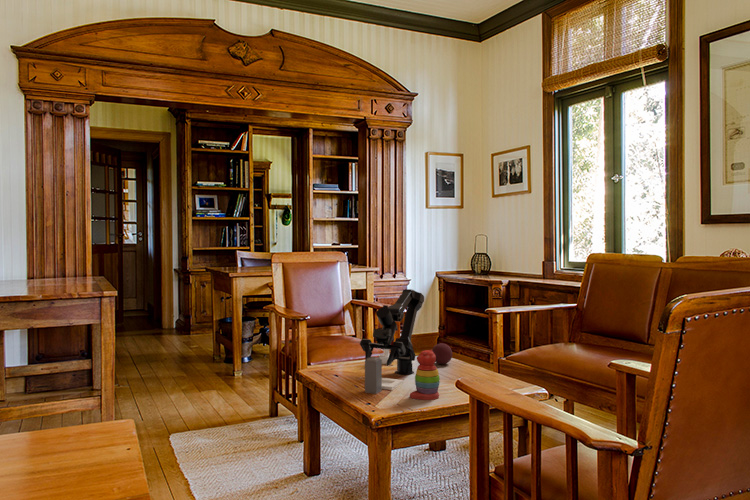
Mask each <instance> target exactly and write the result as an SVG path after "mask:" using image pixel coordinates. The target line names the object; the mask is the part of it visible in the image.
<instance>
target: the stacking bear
mask: <svg viewBox="0 0 750 500" xmlns="http://www.w3.org/2000/svg"><path fill="white" fill-rule="evenodd" d="M416 361H417V363H418V364H419V365H418V366H417V368H416V370H415V371H416V372H415V376H414V384H415V390H413V391H411V392H410V393H409V398H410V399H415V400H423V401H430V400H437V399H438V398H439V397H440V394H439V387H440V382H441V381H440V375H439V369H438V368H437V366H436V365H435V363H436V362H435V361H436V356H435V354H434V353H433V351H432V349H428V350H422V351H420V353H419V354H418V355H417V357H416Z"/></svg>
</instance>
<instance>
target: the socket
mask: <svg viewBox="0 0 750 500" xmlns="http://www.w3.org/2000/svg"><path fill="white" fill-rule="evenodd" d="M403 384H404V379H396V378H389V377H382V390H389V391H393V390H394V389H397V387H400V386H401V385H403Z"/></svg>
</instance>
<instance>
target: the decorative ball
mask: <svg viewBox="0 0 750 500" xmlns="http://www.w3.org/2000/svg"><path fill="white" fill-rule="evenodd" d="M431 350H432V351H433V353H434V354H435V356H436V361H435V363H436V364H439V365H445V364H448V363H450V361H451V359H452V358H453V351H452V348H451V347H450V346H449V345H448V344H446V343H443V342H442V343H440V342H439V343H436V344H435V345H434V346H433V347H432V349H431Z"/></svg>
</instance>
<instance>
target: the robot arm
mask: <svg viewBox="0 0 750 500" xmlns="http://www.w3.org/2000/svg"><path fill="white" fill-rule="evenodd" d="M424 303H425V296H424V294H423V293H422V292H418V291H415V290H414V289H411V288H410V289H407V288H405V289H402V292H401V294H400V296H399V297H398V298H397V299H396V301H395V302H394V304H391V305H387V304H384V305H383V306H381V307H379V308H378V309H377V310H376V312H375V316H376V318H377V319H378V321H379V324H380V325H381V326H382V328H373V333H372V337H373V338H374V341H375V342H373V341H372V340H371V339H370V338H362V339H361V340H360V341H359V345H360V347H361V349H362V351H364V353H365V358H364V362H365V361H366V360H367V358H369V357H372V354H373V351H374V349H379V350H381V349H382V350H384V349H386V350H389V354H390V355H389V358H388V360H387V364H385V365H386V366H387V367H389V366H390V365H392V364H393V362H394V361H397V362H396V363H397V364H396V371H394V373H395V374H398V375H403V376H407V375H410V374H411V375H412V374H414V373H415V371H413V361H416V353H415V350H414V349H413V348H414V345H413V343H412V341H411V340H412V335H413V332H414V327H415V323H416V318H417V314H418V311H420V310H421V309H422V307H423V304H424ZM405 310H406V312H404V311H405ZM403 319H404V321H403V325H402V327H401V328H402V329H401V333H400V336H399V337H396V338H394V336H395V334H396V331H398V330H399V329H398V324H397V322H398V323H400V322H402V320H403ZM391 363H392V364H391Z"/></svg>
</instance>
